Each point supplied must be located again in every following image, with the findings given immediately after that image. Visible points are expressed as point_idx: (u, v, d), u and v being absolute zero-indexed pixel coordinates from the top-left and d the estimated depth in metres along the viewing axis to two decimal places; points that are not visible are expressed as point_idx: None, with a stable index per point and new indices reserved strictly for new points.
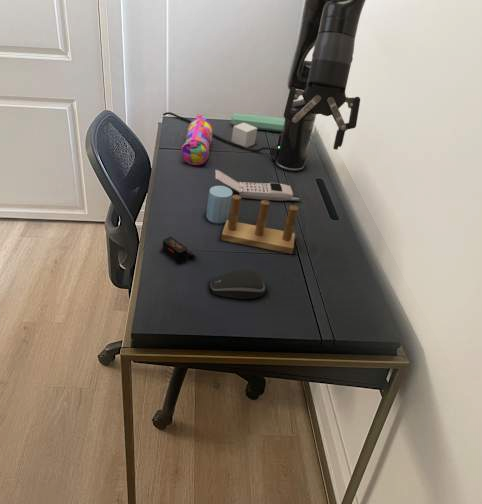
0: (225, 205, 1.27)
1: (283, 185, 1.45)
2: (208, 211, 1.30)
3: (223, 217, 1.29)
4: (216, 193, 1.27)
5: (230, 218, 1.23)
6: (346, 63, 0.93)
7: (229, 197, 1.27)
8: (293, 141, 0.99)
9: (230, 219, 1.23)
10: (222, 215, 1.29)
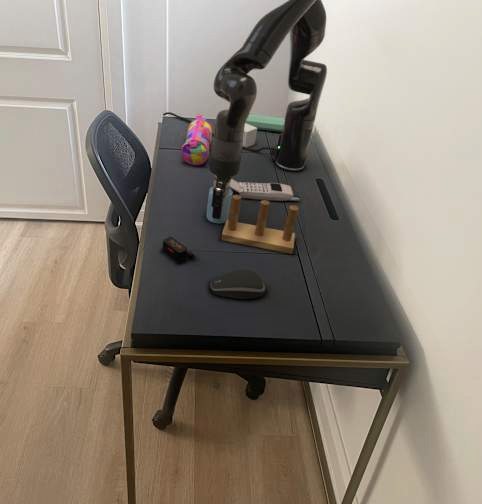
0: (225, 205, 1.27)
1: (283, 185, 1.45)
2: (208, 211, 1.30)
3: (223, 217, 1.29)
4: None
5: (230, 218, 1.23)
6: (213, 157, 1.20)
7: (229, 197, 1.27)
8: None
9: (230, 219, 1.23)
10: (222, 215, 1.29)
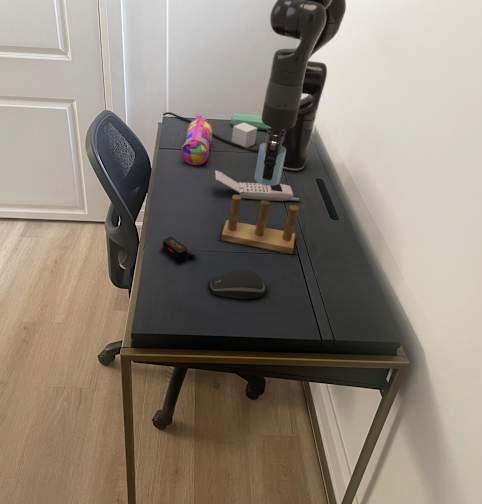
0: (278, 164, 1.11)
1: (283, 185, 1.45)
2: (257, 171, 1.14)
3: (275, 178, 1.13)
4: None
5: (230, 218, 1.23)
6: (268, 105, 1.04)
7: (283, 154, 1.10)
8: None
9: (230, 219, 1.23)
10: (274, 176, 1.13)
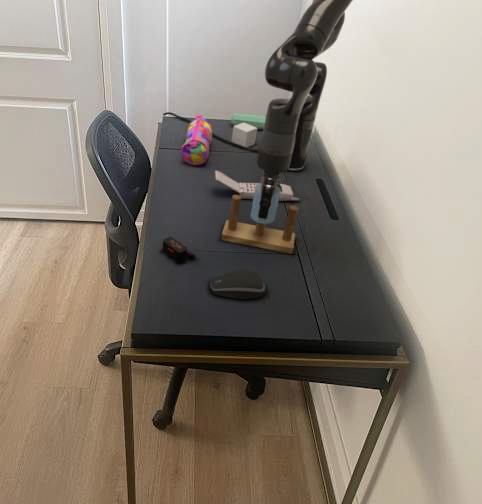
0: (273, 204, 1.17)
1: (283, 185, 1.45)
2: (253, 210, 1.19)
3: (270, 216, 1.19)
4: None
5: (230, 218, 1.23)
6: (263, 151, 1.10)
7: (277, 195, 1.16)
8: None
9: (230, 219, 1.23)
10: (269, 215, 1.18)
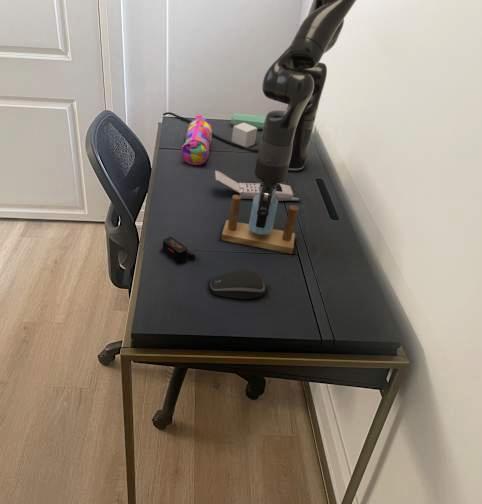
0: (270, 215, 1.19)
1: (283, 185, 1.45)
2: (251, 221, 1.21)
3: (267, 227, 1.21)
4: None
5: (230, 218, 1.23)
6: (260, 162, 1.11)
7: (275, 207, 1.18)
8: None
9: (230, 219, 1.23)
10: (267, 226, 1.20)
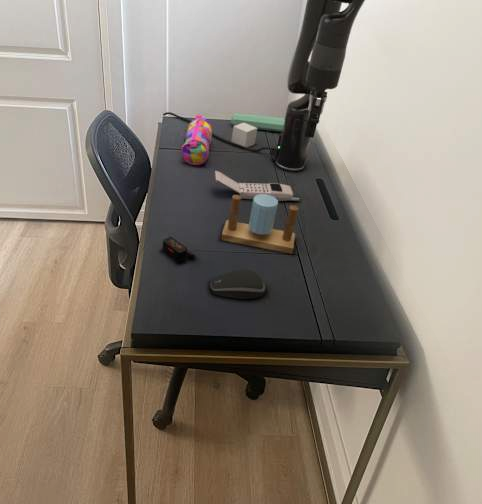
0: (270, 215, 1.19)
1: (283, 185, 1.45)
2: (251, 221, 1.21)
3: (267, 227, 1.21)
4: (261, 202, 1.18)
5: (230, 218, 1.23)
6: (313, 66, 1.12)
7: (275, 207, 1.18)
8: None
9: (230, 219, 1.23)
10: (267, 226, 1.20)
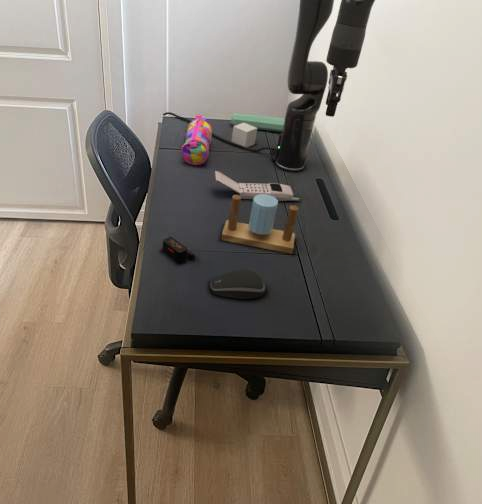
0: (270, 215, 1.19)
1: (283, 185, 1.45)
2: (251, 221, 1.21)
3: (267, 227, 1.21)
4: (261, 202, 1.18)
5: (230, 218, 1.23)
6: (334, 46, 1.16)
7: (275, 207, 1.18)
8: None
9: (230, 219, 1.23)
10: (267, 226, 1.20)
